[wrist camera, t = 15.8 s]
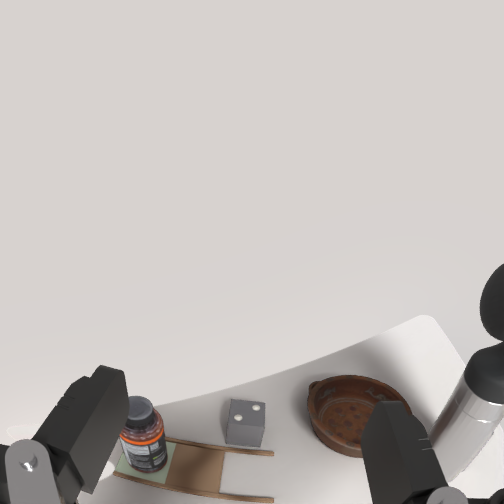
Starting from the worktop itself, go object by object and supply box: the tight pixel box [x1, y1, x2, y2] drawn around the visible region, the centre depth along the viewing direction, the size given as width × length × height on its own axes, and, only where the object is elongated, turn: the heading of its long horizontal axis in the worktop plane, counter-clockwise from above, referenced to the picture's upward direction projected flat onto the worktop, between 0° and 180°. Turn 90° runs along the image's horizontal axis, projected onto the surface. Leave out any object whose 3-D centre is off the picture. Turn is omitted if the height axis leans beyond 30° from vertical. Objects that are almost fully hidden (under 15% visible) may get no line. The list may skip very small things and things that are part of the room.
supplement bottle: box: [119, 396, 168, 473], centre depth 33 cm, size 6×6×11 cm
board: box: [113, 437, 274, 503], centre depth 35 cm, size 21×9×1 cm, turn 87°
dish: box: [308, 375, 412, 458], centre depth 44 cm, size 18×22×5 cm
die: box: [226, 399, 265, 447], centre depth 42 cm, size 5×5×5 cm
